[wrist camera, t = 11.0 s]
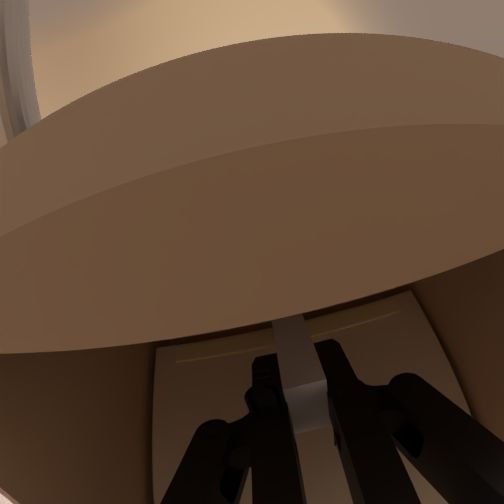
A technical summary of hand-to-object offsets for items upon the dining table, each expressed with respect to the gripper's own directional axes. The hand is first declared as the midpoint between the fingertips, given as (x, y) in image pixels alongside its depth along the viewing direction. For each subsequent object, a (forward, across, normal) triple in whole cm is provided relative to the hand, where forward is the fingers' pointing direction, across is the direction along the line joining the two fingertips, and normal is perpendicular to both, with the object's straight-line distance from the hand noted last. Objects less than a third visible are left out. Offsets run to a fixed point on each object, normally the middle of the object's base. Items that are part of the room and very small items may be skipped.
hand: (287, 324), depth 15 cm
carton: (-3, 0, -9) cm, 9 cm away
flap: (-11, 0, -8) cm, 14 cm away
